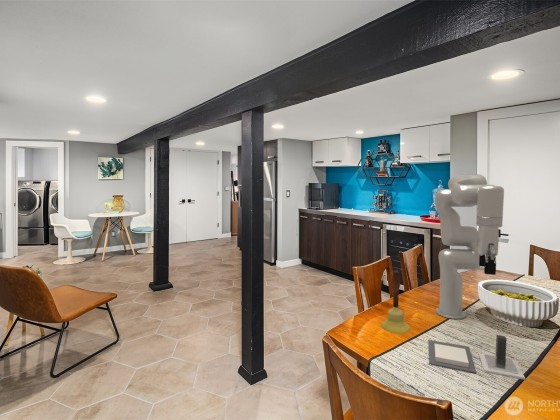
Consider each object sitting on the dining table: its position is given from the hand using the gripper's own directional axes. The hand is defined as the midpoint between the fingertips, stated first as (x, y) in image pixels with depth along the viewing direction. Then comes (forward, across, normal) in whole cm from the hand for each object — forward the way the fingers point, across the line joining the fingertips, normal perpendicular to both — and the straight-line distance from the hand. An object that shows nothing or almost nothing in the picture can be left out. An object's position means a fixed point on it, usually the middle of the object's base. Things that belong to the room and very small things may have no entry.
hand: (486, 270), depth 109 cm
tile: (+31, +6, -11) cm, 33 cm away
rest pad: (+32, +5, +4) cm, 33 cm away
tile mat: (+32, +4, -11) cm, 34 cm away
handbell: (+33, -14, -30) cm, 47 cm away
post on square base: (+31, +4, +4) cm, 32 cm away
